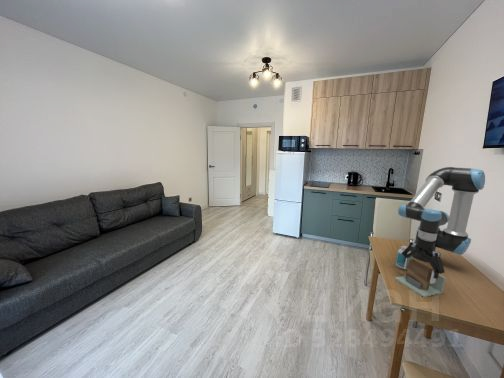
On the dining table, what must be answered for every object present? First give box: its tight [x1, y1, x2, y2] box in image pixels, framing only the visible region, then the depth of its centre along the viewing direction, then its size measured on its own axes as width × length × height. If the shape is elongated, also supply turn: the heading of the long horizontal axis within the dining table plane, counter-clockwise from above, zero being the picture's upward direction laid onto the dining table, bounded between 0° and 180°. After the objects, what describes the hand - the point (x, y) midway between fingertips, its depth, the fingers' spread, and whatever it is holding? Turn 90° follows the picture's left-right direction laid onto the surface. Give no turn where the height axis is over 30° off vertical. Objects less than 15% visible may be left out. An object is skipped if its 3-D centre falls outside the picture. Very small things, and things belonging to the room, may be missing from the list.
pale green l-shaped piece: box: [393, 274, 446, 298], centre depth 115 cm, size 14×16×9 cm
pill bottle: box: [395, 245, 413, 270], centre depth 134 cm, size 8×7×14 cm
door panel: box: [406, 258, 434, 291], centre depth 114 cm, size 3×10×12 cm, turn 18°
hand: (418, 275), depth 115 cm, fingers open, 13 cm apart
